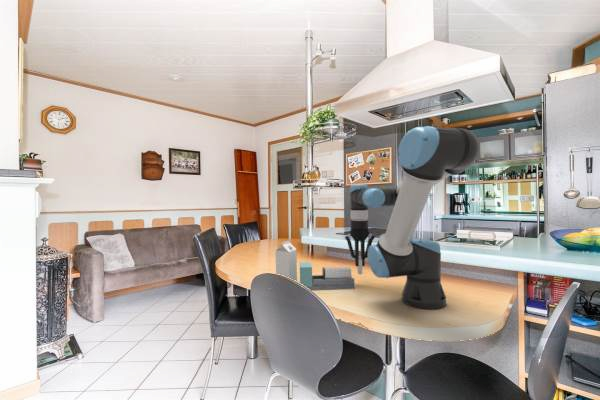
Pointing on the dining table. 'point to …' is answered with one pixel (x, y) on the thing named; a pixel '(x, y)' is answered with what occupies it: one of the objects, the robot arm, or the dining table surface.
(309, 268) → the socket housing
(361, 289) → the dining table surface
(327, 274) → the sliding block
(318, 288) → the guide channel
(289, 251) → the milk carton
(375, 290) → the dining table surface
